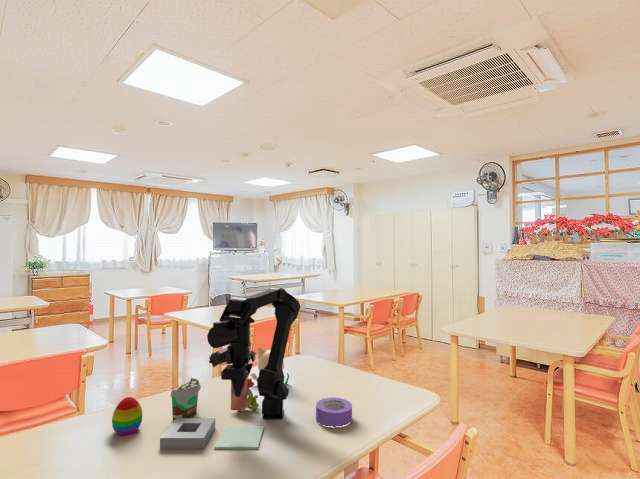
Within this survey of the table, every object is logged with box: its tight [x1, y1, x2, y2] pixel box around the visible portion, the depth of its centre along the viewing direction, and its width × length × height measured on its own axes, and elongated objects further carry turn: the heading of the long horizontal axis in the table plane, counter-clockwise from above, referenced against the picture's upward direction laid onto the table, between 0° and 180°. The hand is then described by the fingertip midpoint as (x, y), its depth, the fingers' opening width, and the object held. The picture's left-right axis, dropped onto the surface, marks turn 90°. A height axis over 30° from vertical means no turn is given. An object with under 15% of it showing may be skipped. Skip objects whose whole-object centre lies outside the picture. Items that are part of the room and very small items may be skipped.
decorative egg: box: [111, 396, 143, 436], centre depth 111 cm, size 8×8×10 cm
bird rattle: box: [237, 377, 260, 412], centre depth 126 cm, size 6×11×9 cm
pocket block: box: [159, 417, 216, 450], centre depth 107 cm, size 12×12×3 cm
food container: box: [170, 377, 202, 421], centre depth 122 cm, size 12×6×10 cm, turn 168°
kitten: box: [250, 346, 290, 386], centre depth 152 cm, size 15×10×15 cm, turn 77°
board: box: [213, 425, 265, 450], centre depth 107 cm, size 12×12×1 cm
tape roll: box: [315, 397, 353, 427], centre depth 120 cm, size 12×12×5 cm
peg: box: [230, 371, 249, 411], centre depth 108 cm, size 4×4×10 cm
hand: (239, 393), depth 108 cm, fingers closed on peg, 4 cm apart
